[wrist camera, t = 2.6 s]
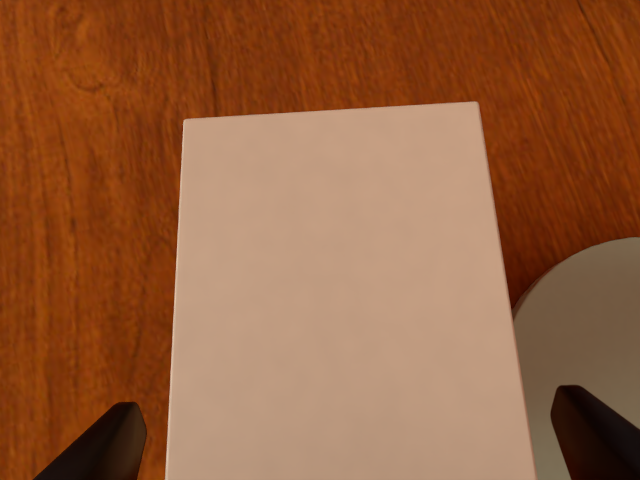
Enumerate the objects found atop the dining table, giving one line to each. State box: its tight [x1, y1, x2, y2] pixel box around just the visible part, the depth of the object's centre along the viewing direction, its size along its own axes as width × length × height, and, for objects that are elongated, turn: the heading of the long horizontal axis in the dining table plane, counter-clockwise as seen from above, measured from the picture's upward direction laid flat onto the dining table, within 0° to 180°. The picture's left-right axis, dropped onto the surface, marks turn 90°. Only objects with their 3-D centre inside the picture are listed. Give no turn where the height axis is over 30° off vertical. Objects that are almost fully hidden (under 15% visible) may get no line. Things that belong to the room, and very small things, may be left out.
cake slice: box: [165, 102, 538, 480], centre depth 13 cm, size 7×5×13 cm
